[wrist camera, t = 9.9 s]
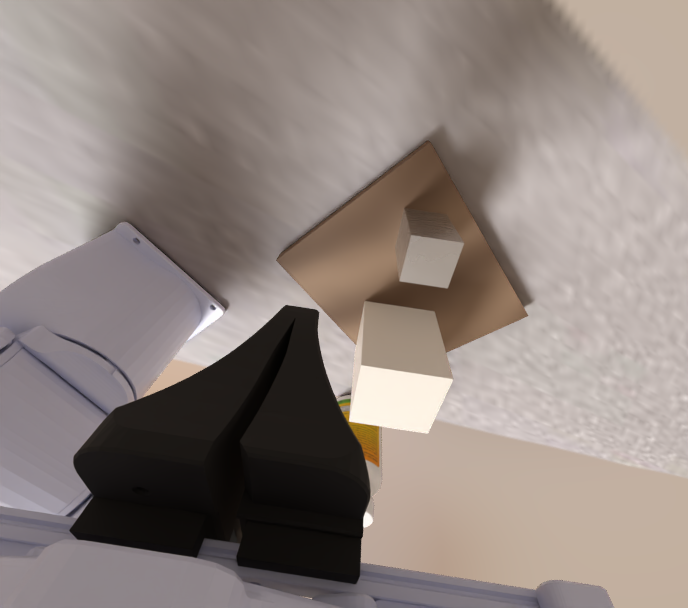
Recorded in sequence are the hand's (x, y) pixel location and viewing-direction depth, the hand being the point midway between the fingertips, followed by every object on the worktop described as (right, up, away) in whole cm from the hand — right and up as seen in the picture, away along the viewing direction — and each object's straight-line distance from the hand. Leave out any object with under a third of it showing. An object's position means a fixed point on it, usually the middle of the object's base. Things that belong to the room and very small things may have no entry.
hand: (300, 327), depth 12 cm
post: (+7, +6, +7) cm, 11 cm away
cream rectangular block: (+6, -1, +12) cm, 13 cm away
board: (+6, +3, +10) cm, 12 cm away
